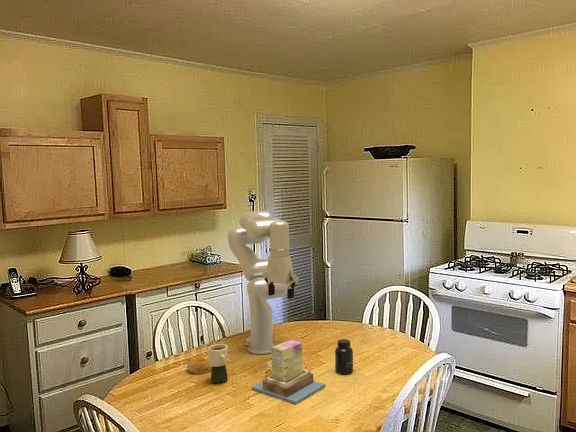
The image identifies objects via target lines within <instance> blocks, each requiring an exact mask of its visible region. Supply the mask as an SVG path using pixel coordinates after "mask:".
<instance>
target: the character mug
mask: <svg viewBox="0 0 576 432" xmlns="http://www.w3.org/2000/svg"><path fill="white" fill-rule="evenodd" d="M207 349H208V350H207V351H208V353H207V355H208V359H209V365H210V366H212V370H211V371H210V372H211V373H210V382H212V383H224V382H227V381H228V379H229V378H228V372H227V371H228V370H227V366H226V365H227V364H228V363H229V358H228V356H229V355H228V353H229V351H228V345H227V344H225V343H224V344H223V343H217V344H211V345H210V346H208V348H207Z"/></svg>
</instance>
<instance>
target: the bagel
mask: <svg viewBox="0 0 576 432" xmlns="http://www.w3.org/2000/svg"><path fill="white" fill-rule="evenodd" d="M186 369H187V371H188V372H190V373H192V374H193V373H194V374H195V375H202V374H206V373H209V372H211V370H212V366H210V365H209V358H204V357H198V358H195V359H190V361H189V362H187V365H186Z"/></svg>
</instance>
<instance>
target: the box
mask: <svg viewBox="0 0 576 432" xmlns="http://www.w3.org/2000/svg"><path fill="white" fill-rule="evenodd" d="M275 345H276V346H273V347H271V353H270V355H271V356H270V357H271V375H272V379H275V380H278V381H281V382H284V383H285V382H287V381H289V380H291V379H293V378H295V377H298V376H300V375H302V374H303V370H304V369H303V344H302V342H300V341H297V340H293V339H289V340H286V341H284V342H282V343H279V344H275Z"/></svg>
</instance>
